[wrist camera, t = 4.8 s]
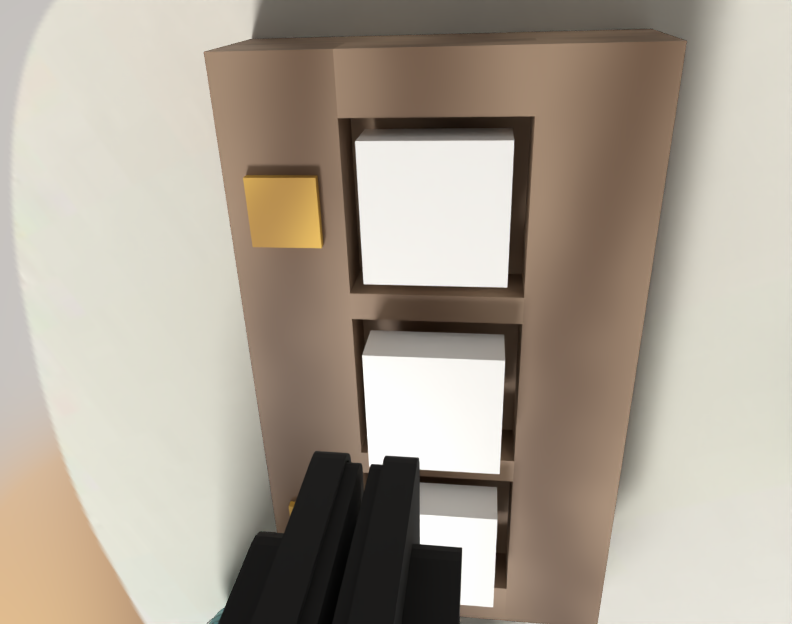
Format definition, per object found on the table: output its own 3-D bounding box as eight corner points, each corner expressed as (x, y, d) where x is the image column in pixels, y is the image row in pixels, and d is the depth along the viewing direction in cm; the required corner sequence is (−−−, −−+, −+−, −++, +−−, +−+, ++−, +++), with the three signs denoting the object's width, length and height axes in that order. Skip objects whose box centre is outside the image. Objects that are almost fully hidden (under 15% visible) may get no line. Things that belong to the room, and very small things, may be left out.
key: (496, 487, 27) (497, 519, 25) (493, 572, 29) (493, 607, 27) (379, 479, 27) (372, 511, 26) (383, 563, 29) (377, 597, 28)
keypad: (651, 28, 22) (689, 41, 18) (583, 549, 33) (597, 634, 29) (251, 39, 24) (199, 53, 20) (310, 529, 35) (286, 606, 31)
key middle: (503, 334, 24) (505, 360, 22) (498, 443, 26) (499, 474, 24) (370, 330, 24) (362, 355, 23) (376, 436, 26) (369, 466, 25)
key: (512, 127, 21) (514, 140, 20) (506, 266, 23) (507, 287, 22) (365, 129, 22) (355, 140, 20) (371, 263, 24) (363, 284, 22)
